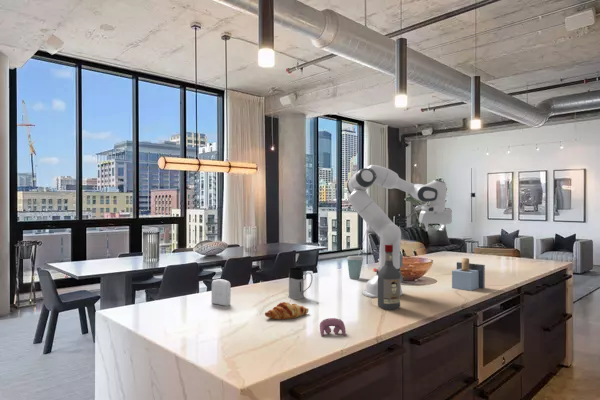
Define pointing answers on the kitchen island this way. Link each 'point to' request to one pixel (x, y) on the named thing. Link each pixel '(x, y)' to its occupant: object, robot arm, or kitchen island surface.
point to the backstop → (479, 268)
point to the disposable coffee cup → (354, 266)
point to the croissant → (286, 311)
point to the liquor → (388, 283)
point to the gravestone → (221, 292)
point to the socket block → (465, 279)
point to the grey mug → (297, 283)
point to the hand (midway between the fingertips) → (434, 230)
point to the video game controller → (332, 322)
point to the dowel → (465, 264)
